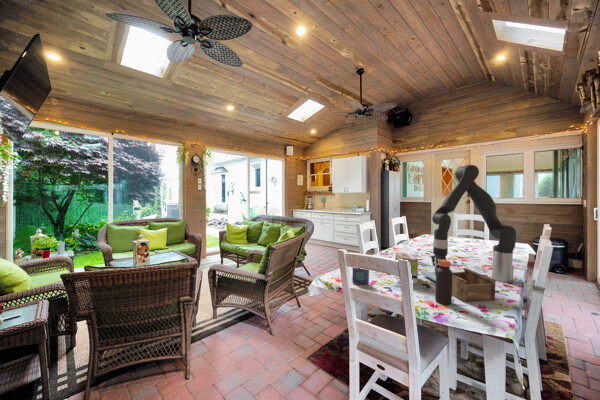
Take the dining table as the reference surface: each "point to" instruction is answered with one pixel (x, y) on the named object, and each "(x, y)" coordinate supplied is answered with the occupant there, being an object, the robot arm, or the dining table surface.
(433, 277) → the cover plate
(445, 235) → the robot arm
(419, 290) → the dining table surface
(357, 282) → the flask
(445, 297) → the bottle
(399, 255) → the tea box
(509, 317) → the dining table surface
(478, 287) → the walnut box
